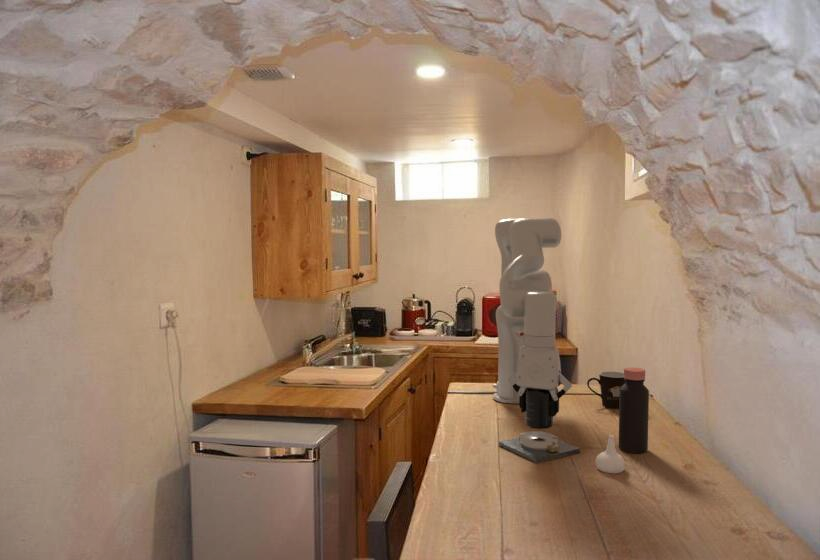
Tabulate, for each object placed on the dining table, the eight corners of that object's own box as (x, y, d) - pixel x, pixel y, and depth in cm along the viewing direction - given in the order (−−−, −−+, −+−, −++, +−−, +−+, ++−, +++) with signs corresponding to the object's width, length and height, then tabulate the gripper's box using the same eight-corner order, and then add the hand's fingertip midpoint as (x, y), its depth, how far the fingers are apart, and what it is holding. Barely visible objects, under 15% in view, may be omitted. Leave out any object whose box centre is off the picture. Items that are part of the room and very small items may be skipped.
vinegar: (650, 447, 149) (652, 368, 148) (644, 455, 143) (646, 373, 142) (622, 442, 153) (623, 365, 151) (615, 450, 147) (616, 370, 146)
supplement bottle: (541, 420, 152) (542, 373, 152) (558, 427, 146) (559, 379, 146) (519, 423, 150) (519, 376, 149) (535, 431, 143) (536, 382, 143)
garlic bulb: (600, 476, 132) (602, 442, 131) (591, 463, 138) (593, 431, 137) (628, 476, 132) (630, 442, 131) (618, 463, 138) (620, 430, 137)
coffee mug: (630, 404, 188) (630, 373, 188) (624, 411, 181) (625, 378, 180) (592, 399, 194) (593, 369, 194) (585, 406, 187) (586, 374, 186)
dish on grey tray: (498, 445, 151) (498, 433, 151) (540, 436, 158) (540, 425, 158) (536, 463, 139) (536, 450, 139) (579, 452, 146) (580, 440, 145)
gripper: (500, 341, 148) (500, 412, 149) (571, 347, 139) (570, 422, 140) (511, 337, 154) (510, 404, 155) (579, 342, 146) (578, 414, 147)
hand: (538, 412), depth 148 cm, fingers closed on supplement bottle, 6 cm apart
